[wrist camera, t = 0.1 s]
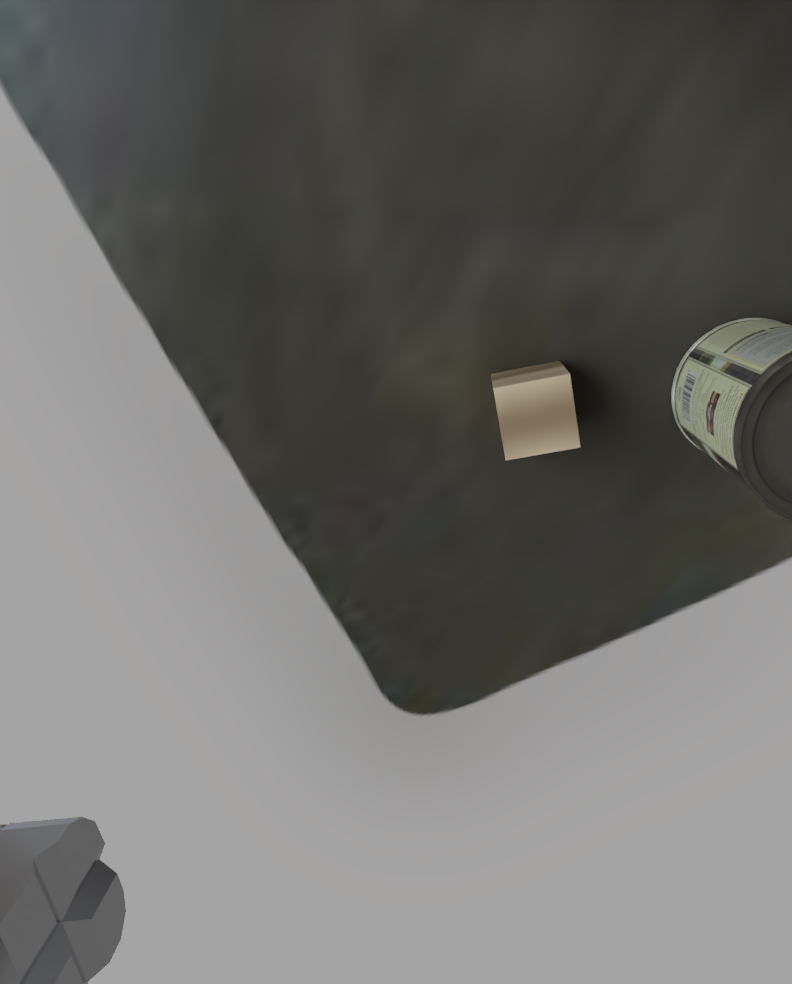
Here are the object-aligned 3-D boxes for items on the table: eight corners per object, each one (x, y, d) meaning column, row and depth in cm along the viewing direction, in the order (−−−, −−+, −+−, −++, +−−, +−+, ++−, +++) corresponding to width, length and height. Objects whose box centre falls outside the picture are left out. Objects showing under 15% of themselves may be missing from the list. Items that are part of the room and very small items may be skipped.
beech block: (490, 374, 54) (493, 388, 49) (559, 360, 54) (570, 373, 48) (501, 439, 56) (505, 460, 50) (568, 427, 55) (580, 447, 49)
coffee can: (839, 424, 53) (963, 483, 40) (697, 479, 55) (770, 552, 42) (796, 290, 51) (914, 303, 37) (649, 353, 53) (711, 388, 39)
